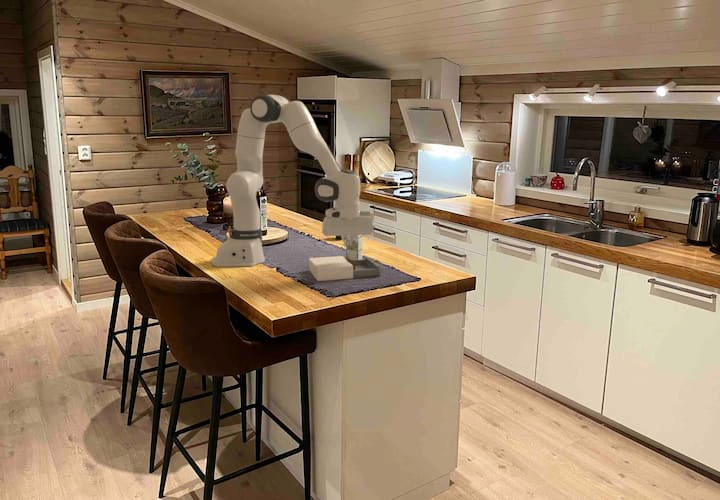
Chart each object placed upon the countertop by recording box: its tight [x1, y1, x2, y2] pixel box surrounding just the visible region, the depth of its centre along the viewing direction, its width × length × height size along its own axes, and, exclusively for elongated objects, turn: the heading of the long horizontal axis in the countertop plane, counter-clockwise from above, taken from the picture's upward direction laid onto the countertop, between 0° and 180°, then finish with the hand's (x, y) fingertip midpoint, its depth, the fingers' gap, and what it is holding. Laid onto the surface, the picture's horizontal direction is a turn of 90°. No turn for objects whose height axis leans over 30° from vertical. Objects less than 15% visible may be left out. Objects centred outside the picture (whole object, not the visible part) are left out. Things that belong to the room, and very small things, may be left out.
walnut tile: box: [347, 257, 355, 270], centre depth 241 cm, size 5×5×2 cm
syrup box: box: [345, 235, 363, 260], centre depth 258 cm, size 6×6×14 cm
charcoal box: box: [352, 256, 381, 279], centre depth 242 cm, size 11×16×4 cm, turn 17°
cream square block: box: [308, 255, 354, 282], centre depth 239 cm, size 14×16×5 cm
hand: (347, 246), depth 239 cm, fingers closed
